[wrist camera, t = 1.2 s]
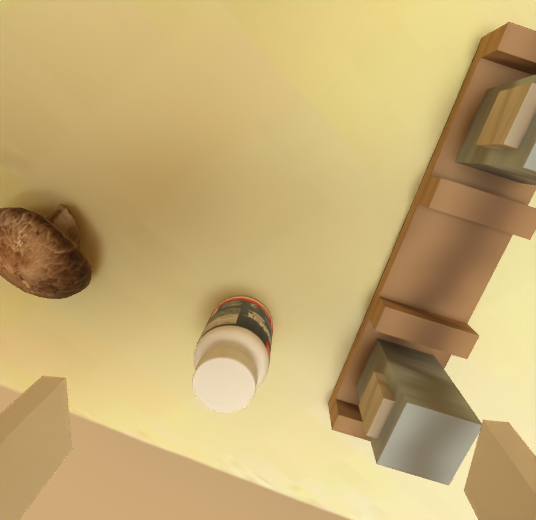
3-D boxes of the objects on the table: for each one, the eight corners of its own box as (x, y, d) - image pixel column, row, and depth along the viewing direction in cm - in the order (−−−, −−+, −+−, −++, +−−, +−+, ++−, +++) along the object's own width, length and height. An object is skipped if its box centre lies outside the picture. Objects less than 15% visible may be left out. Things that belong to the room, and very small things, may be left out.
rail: (328, 404, 34) (341, 494, 25) (482, 37, 25) (586, -24, 16) (405, 427, 34) (445, 525, 25) (584, 71, 25) (741, 30, 16)
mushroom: (57, 168, 26) (-15, 231, 22) (135, 249, 30) (87, 313, 27) (7, 191, 30) (-59, 247, 27) (82, 259, 35) (35, 314, 31)
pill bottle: (283, 339, 32) (280, 408, 24) (227, 359, 33) (205, 433, 24) (257, 285, 31) (244, 337, 22) (200, 307, 32) (167, 365, 23)
